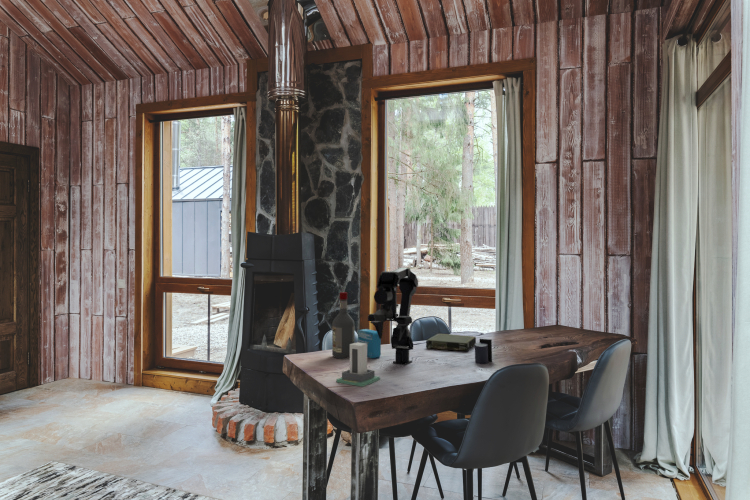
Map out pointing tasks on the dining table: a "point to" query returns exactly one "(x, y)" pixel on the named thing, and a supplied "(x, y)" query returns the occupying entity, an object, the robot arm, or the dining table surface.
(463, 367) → the dining table surface
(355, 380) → the green and grey tray
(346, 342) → the liquor
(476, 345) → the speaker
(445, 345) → the network switch
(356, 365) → the white rectangular block
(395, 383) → the dining table surface
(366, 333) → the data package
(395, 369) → the dining table surface
